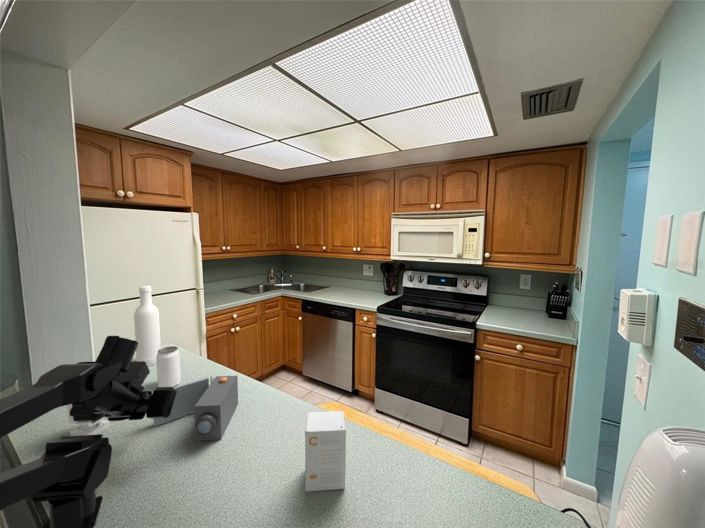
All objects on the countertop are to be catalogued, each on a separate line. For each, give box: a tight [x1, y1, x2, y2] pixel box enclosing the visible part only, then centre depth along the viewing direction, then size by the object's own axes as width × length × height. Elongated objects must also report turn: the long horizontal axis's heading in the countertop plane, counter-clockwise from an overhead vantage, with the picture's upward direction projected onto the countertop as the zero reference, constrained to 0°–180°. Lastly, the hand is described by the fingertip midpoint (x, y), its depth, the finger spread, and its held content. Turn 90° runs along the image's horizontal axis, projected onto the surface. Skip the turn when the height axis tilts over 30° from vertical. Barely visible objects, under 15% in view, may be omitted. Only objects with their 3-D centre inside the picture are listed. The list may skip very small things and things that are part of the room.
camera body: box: [194, 375, 239, 442], centre depth 76 cm, size 17×8×10 cm, turn 6°
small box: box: [304, 410, 347, 493], centre depth 59 cm, size 8×6×13 cm
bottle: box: [133, 285, 162, 367], centre depth 108 cm, size 8×8×30 cm
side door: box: [152, 376, 210, 427], centre depth 78 cm, size 13×2×9 cm, turn 132°
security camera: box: [66, 404, 111, 436], centre depth 71 cm, size 6×7×10 cm
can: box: [156, 345, 181, 387], centre depth 94 cm, size 6×6×12 cm
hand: (144, 412), depth 70 cm, fingers closed
